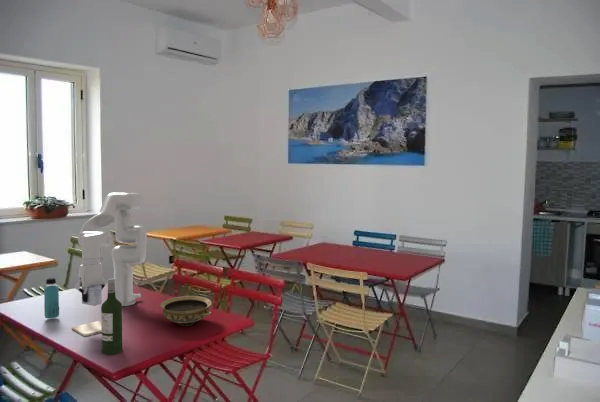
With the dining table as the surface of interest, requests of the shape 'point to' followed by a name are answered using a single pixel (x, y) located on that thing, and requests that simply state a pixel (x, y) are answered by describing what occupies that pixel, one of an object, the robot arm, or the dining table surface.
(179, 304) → the ceramic bowl
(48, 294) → the beverage bottle
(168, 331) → the dining table surface
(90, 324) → the birch board
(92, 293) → the medicine box
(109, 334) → the wine bottle
